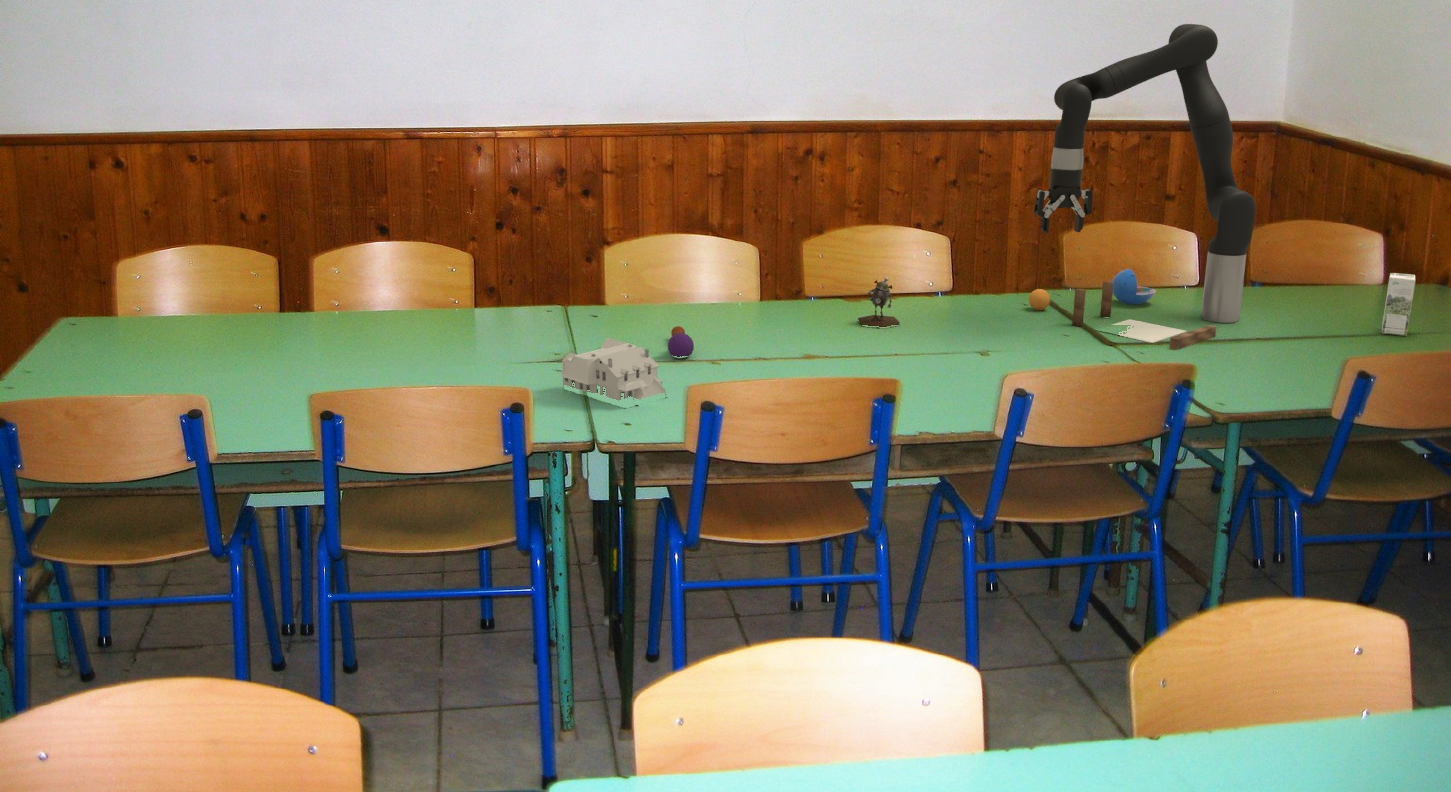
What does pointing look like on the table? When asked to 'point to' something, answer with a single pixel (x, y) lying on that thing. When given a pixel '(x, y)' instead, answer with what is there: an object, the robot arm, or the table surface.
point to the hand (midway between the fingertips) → (1061, 232)
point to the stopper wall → (1192, 337)
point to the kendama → (680, 343)
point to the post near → (1079, 307)
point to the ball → (1039, 299)
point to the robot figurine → (880, 299)
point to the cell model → (1130, 289)
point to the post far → (1106, 299)
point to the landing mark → (1148, 331)
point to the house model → (613, 371)
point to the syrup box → (1398, 304)
